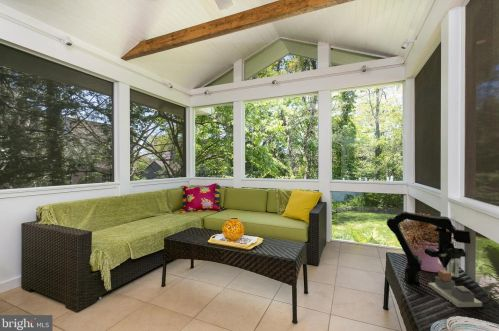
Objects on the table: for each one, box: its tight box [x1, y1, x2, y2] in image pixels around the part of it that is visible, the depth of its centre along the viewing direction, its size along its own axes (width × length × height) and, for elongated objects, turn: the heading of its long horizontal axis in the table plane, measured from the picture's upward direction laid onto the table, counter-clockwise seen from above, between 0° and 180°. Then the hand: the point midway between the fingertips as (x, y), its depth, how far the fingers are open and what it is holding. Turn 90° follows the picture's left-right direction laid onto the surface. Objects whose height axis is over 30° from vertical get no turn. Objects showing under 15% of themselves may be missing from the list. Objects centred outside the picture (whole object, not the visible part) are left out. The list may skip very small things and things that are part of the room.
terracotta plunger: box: [437, 269, 452, 282], centre depth 130 cm, size 4×4×5 cm
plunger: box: [455, 285, 471, 293], centre depth 120 cm, size 4×4×5 cm
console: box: [427, 276, 483, 308], centre depth 125 cm, size 12×19×6 cm, turn 0°
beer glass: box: [446, 258, 461, 278], centre depth 146 cm, size 7×7×15 cm
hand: (444, 267), depth 130 cm, fingers closed
